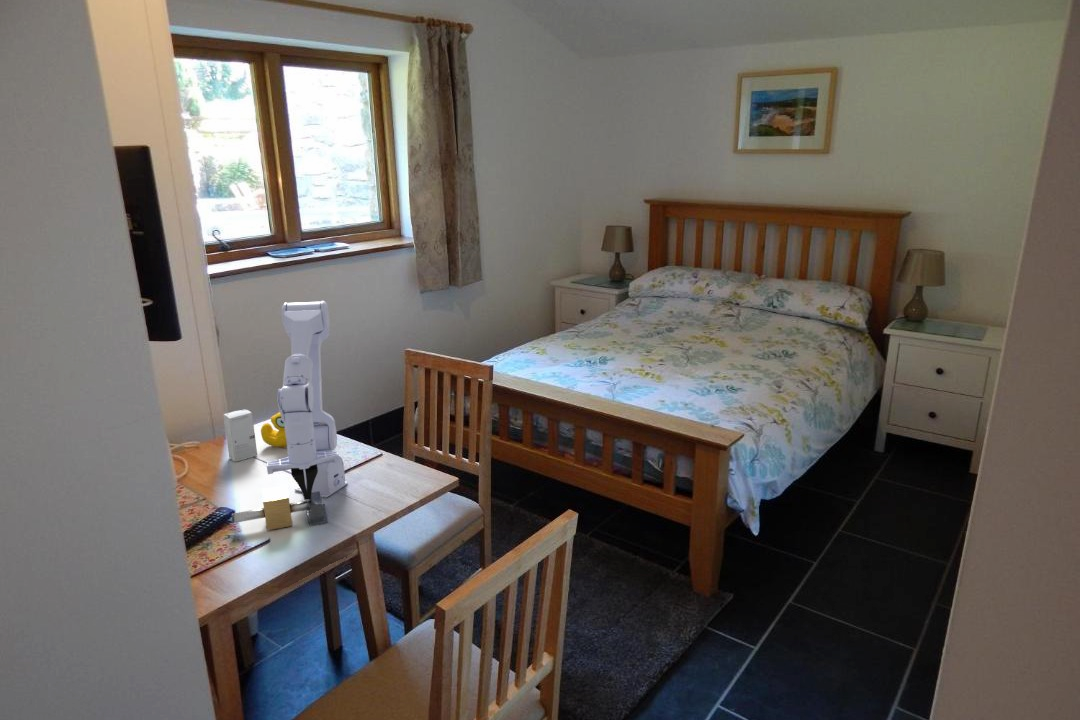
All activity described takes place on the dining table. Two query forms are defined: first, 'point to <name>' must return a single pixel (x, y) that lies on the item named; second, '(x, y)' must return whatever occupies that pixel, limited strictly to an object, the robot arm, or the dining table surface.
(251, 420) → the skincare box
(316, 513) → the pillow block
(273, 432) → the duckling
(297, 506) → the shaft inner
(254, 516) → the shaft outer
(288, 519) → the block
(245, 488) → the dining table surface
